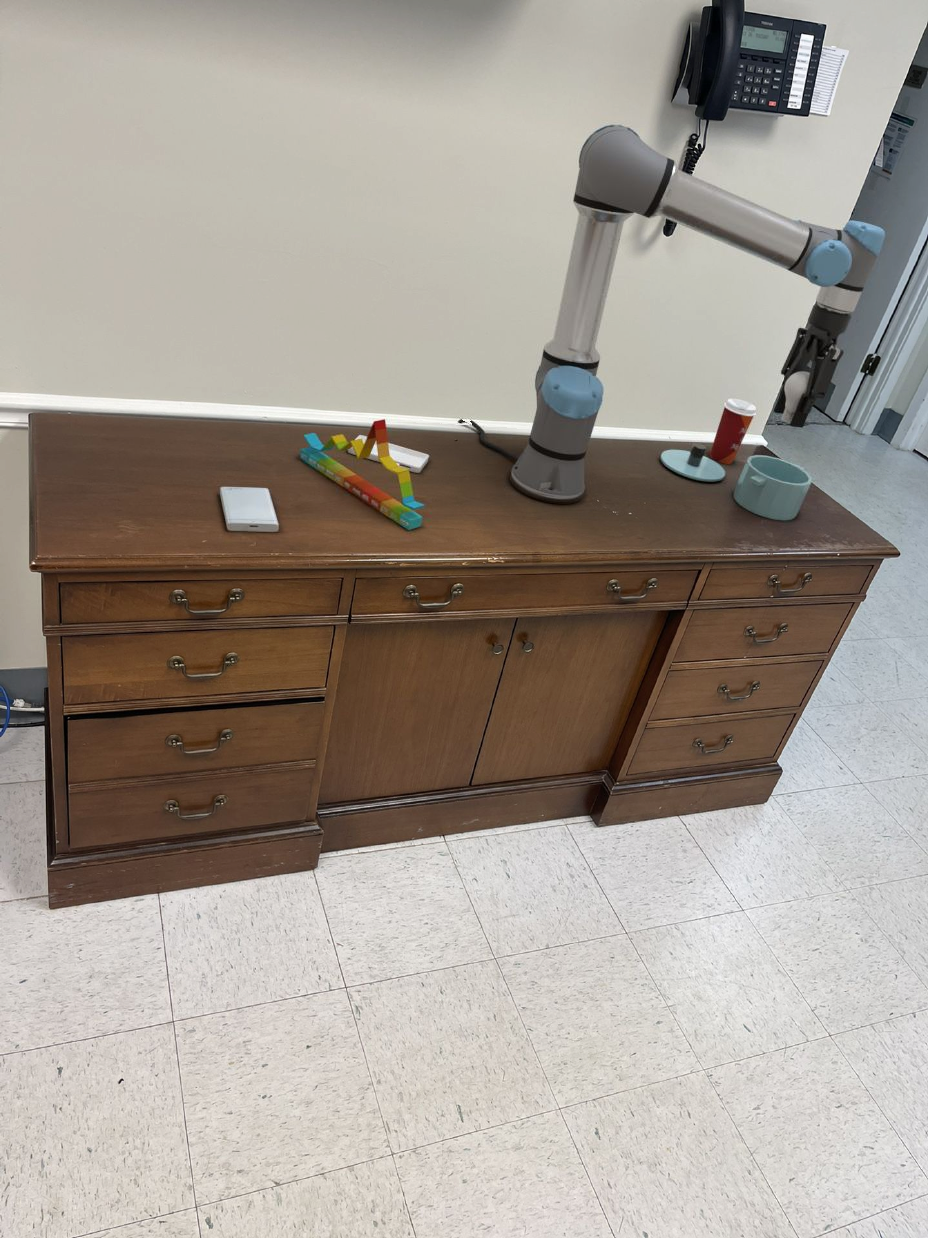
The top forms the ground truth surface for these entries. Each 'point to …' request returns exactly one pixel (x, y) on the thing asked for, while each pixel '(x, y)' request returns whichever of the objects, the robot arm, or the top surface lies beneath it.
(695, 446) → the lid
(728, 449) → the paper cup
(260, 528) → the hard drive
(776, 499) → the pot
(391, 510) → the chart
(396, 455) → the phone case
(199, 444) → the top surface
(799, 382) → the lightbulb
